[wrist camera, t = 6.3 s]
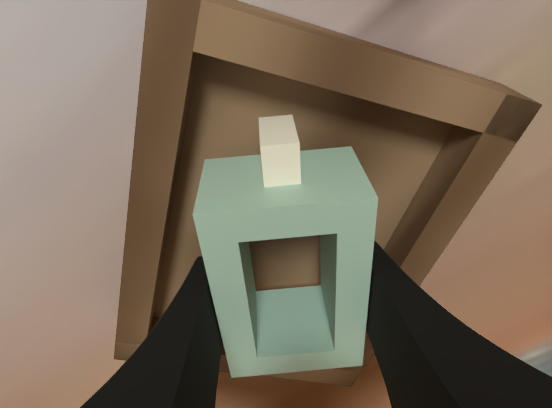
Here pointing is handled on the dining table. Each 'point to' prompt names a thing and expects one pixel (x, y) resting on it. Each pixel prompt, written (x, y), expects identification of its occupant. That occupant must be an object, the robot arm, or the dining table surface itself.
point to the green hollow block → (286, 224)
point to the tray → (312, 135)
